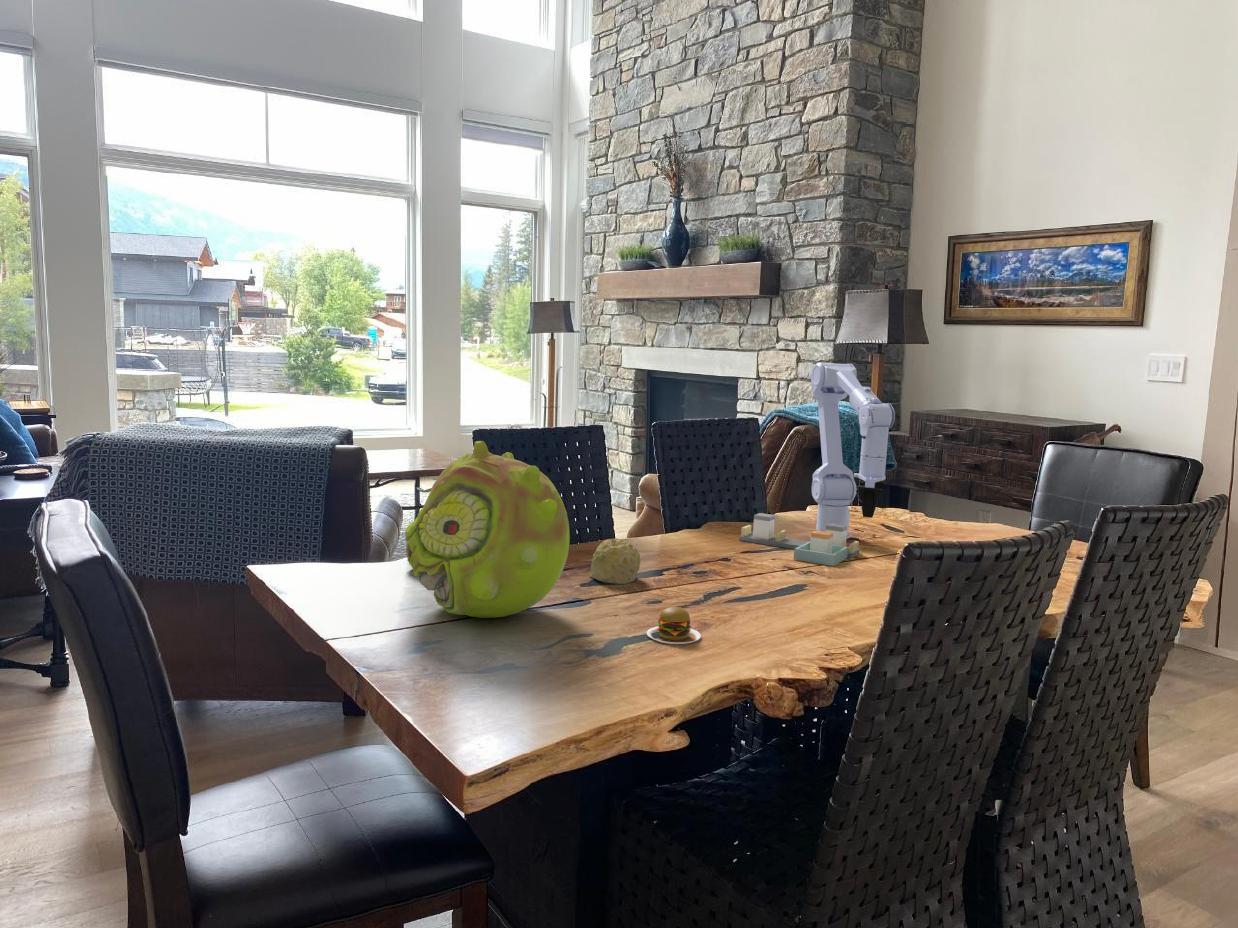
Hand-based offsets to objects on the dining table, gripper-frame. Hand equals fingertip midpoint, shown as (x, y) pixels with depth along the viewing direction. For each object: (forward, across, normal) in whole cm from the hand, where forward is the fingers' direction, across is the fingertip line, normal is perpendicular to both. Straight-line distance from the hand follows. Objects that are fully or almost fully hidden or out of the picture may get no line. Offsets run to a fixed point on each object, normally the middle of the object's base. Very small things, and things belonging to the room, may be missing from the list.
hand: (868, 514), depth 219 cm
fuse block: (+10, -3, -16) cm, 19 cm away
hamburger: (+11, +77, -26) cm, 82 cm away
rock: (+10, +46, -46) cm, 66 cm away
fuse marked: (+9, +8, -10) cm, 15 cm away
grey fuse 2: (+9, -1, -7) cm, 11 cm away
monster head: (+10, +79, -59) cm, 99 cm away
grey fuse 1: (+9, -5, -25) cm, 27 cm away
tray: (+10, +8, -9) cm, 16 cm away
